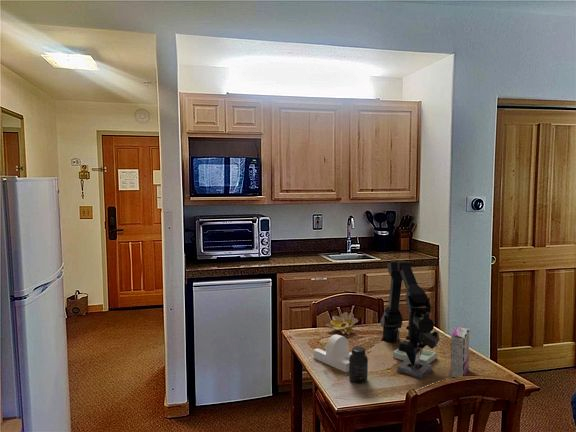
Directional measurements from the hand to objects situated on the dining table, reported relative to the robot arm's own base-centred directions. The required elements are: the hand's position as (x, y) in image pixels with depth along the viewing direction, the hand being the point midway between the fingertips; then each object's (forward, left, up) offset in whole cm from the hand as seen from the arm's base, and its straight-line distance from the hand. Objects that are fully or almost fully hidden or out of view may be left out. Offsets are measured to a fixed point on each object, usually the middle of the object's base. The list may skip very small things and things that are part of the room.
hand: (415, 363), depth 163 cm
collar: (0, 0, -3) cm, 3 cm away
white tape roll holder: (-28, -12, -4) cm, 31 cm away
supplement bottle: (-13, -21, -3) cm, 25 cm away
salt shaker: (0, 0, -3) cm, 3 cm away
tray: (-5, +11, -3) cm, 13 cm away
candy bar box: (+14, +9, -3) cm, 17 cm away
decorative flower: (-46, +19, -3) cm, 50 cm away
